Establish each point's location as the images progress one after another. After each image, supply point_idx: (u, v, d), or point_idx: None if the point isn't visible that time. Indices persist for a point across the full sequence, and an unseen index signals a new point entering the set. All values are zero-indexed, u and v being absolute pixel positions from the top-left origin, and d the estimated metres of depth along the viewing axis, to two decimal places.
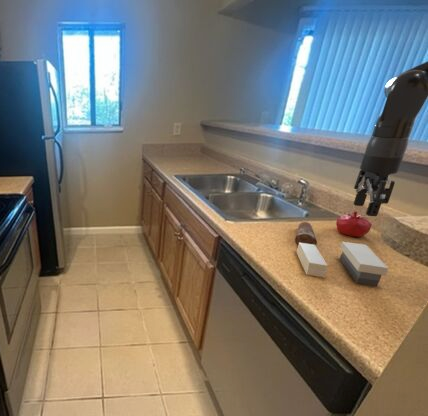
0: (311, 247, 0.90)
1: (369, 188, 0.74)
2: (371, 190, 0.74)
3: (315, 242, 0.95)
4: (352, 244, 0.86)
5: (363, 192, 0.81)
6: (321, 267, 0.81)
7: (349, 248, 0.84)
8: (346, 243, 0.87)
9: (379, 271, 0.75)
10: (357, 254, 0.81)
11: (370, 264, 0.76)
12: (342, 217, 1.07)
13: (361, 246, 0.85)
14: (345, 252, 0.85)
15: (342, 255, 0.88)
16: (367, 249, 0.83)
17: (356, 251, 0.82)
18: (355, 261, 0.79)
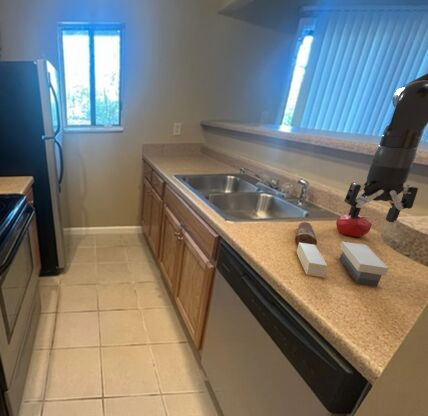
0: (311, 247, 0.90)
1: None
2: (360, 194, 0.78)
3: (315, 242, 0.95)
4: (352, 244, 0.86)
5: (394, 207, 0.75)
6: (321, 267, 0.81)
7: (349, 248, 0.84)
8: (346, 243, 0.87)
9: (379, 271, 0.75)
10: (357, 254, 0.81)
11: (370, 264, 0.76)
12: (342, 217, 1.07)
13: (361, 246, 0.85)
14: (345, 252, 0.85)
15: (342, 255, 0.88)
16: (367, 249, 0.83)
17: (356, 251, 0.82)
18: (355, 261, 0.79)
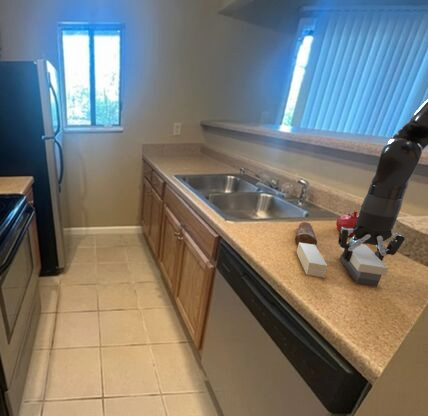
0: (311, 247, 0.90)
1: None
2: None
3: (315, 242, 0.95)
4: None
5: (378, 252, 0.79)
6: (321, 267, 0.81)
7: None
8: None
9: (379, 271, 0.75)
10: (357, 254, 0.81)
11: (370, 264, 0.76)
12: (342, 217, 1.07)
13: (361, 246, 0.85)
14: None
15: None
16: (367, 249, 0.83)
17: (356, 251, 0.82)
18: (355, 261, 0.79)
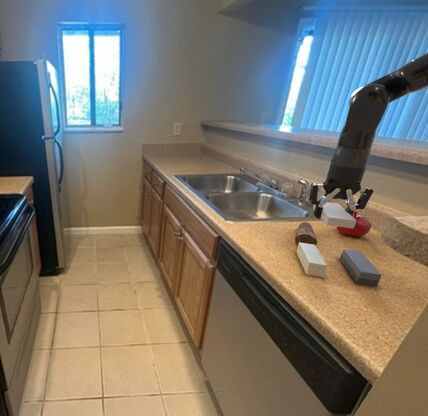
0: (311, 247, 0.90)
1: None
2: None
3: (315, 242, 0.94)
4: None
5: (348, 207, 0.78)
6: (321, 267, 0.81)
7: None
8: None
9: (347, 224, 0.74)
10: (328, 210, 0.80)
11: (339, 217, 0.75)
12: None
13: (333, 204, 0.84)
14: None
15: (342, 255, 0.88)
16: (338, 206, 0.82)
17: (327, 208, 0.81)
18: (324, 216, 0.78)
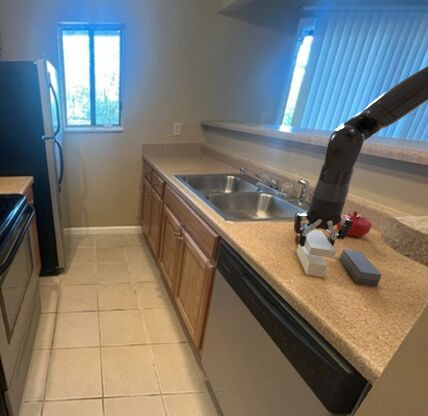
0: None
1: None
2: None
3: None
4: None
5: (330, 237, 0.83)
6: (321, 267, 0.81)
7: None
8: None
9: (328, 254, 0.78)
10: (311, 239, 0.84)
11: (320, 247, 0.79)
12: (342, 217, 1.07)
13: (316, 232, 0.88)
14: None
15: (342, 255, 0.88)
16: (321, 235, 0.87)
17: (310, 237, 0.85)
18: (307, 245, 0.82)
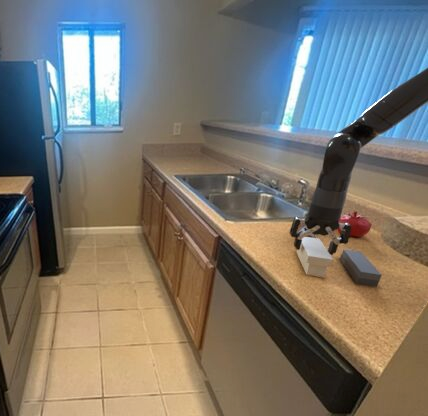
0: None
1: None
2: None
3: None
4: (306, 238, 0.91)
5: (333, 241, 0.83)
6: (321, 267, 0.81)
7: (302, 241, 0.89)
8: None
9: (325, 263, 0.79)
10: (308, 247, 0.85)
11: (317, 256, 0.80)
12: (342, 217, 1.07)
13: (314, 240, 0.89)
14: None
15: (342, 255, 0.88)
16: (319, 242, 0.88)
17: (308, 245, 0.87)
18: (305, 253, 0.83)
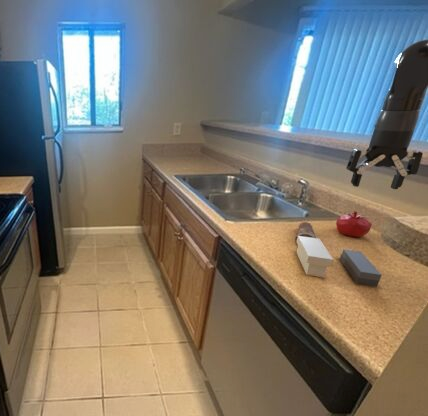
0: None
1: None
2: (363, 161, 0.78)
3: None
4: (306, 238, 0.91)
5: (398, 173, 0.75)
6: (321, 267, 0.81)
7: (302, 241, 0.89)
8: (301, 237, 0.91)
9: (325, 263, 0.79)
10: (308, 247, 0.85)
11: (317, 256, 0.80)
12: (342, 217, 1.07)
13: (314, 240, 0.89)
14: (299, 245, 0.90)
15: (342, 255, 0.88)
16: (319, 242, 0.88)
17: (308, 245, 0.87)
18: (305, 253, 0.83)
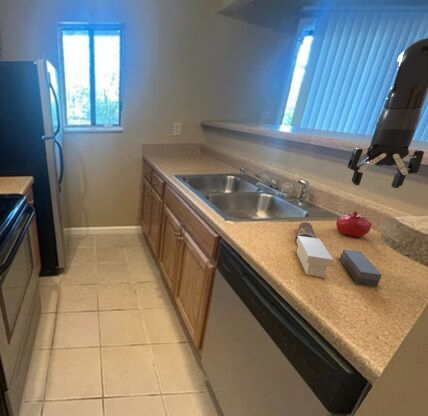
0: None
1: None
2: (364, 160, 0.78)
3: None
4: (306, 238, 0.91)
5: (399, 172, 0.75)
6: (321, 267, 0.81)
7: (302, 241, 0.89)
8: (301, 237, 0.91)
9: (325, 263, 0.79)
10: (308, 247, 0.85)
11: (317, 256, 0.80)
12: (342, 217, 1.07)
13: (314, 240, 0.89)
14: (299, 245, 0.90)
15: (342, 255, 0.88)
16: (319, 242, 0.88)
17: (308, 245, 0.87)
18: (305, 253, 0.83)
